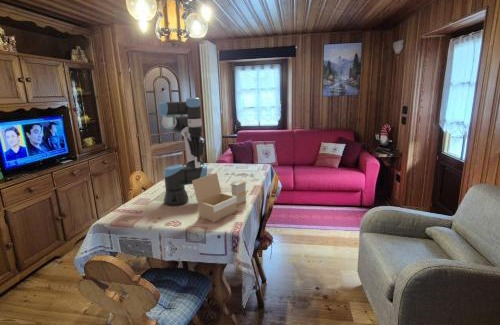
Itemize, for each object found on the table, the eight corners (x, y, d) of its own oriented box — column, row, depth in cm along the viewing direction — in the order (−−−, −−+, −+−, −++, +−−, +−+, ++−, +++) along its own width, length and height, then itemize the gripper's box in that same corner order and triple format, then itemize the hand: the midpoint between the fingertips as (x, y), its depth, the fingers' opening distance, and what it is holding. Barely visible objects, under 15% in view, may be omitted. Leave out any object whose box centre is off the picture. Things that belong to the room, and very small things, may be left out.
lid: (198, 201, 154) (197, 201, 155) (221, 192, 168) (220, 192, 168) (192, 180, 153) (191, 180, 154) (216, 172, 167) (215, 173, 167)
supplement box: (240, 199, 180) (239, 180, 177) (246, 201, 177) (245, 181, 174) (231, 203, 174) (230, 183, 171) (237, 205, 171) (236, 184, 168)
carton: (199, 217, 156) (198, 201, 154) (222, 206, 170) (221, 192, 168) (214, 222, 149) (213, 206, 147) (237, 211, 162) (236, 196, 160)
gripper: (182, 126, 158) (185, 167, 164) (197, 127, 150) (200, 170, 156) (192, 125, 164) (195, 164, 169) (207, 126, 156) (210, 167, 161)
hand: (197, 167), depth 162 cm, fingers closed
